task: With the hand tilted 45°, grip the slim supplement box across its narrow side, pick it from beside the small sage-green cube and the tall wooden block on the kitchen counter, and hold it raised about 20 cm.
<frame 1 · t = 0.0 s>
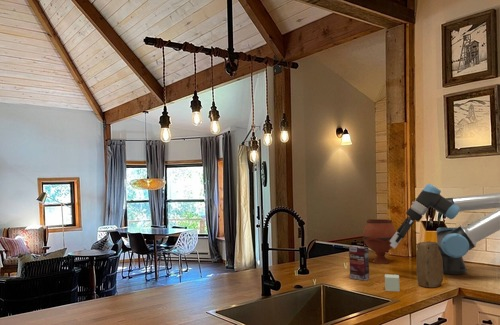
hand: (391, 245, 214), 15 cm above the worktop, tool tilted 35°, fingers open, 13 cm apart
supplement box: (359, 279, 207), on the worktop
sage cube: (392, 289, 186), on the worktop
goblet: (380, 262, 245), on the worktop
block: (430, 286, 190), on the worktop
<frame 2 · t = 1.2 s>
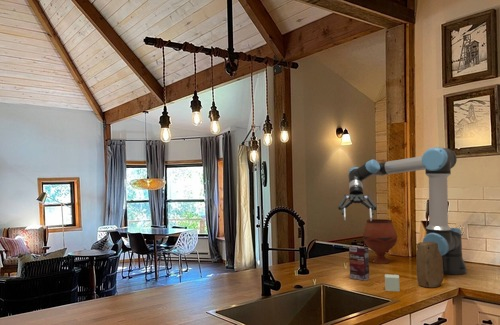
hand: (357, 219, 221), 28 cm above the worktop, tool tilted 45°, fingers open, 13 cm apart
nothing on the worktop moved.
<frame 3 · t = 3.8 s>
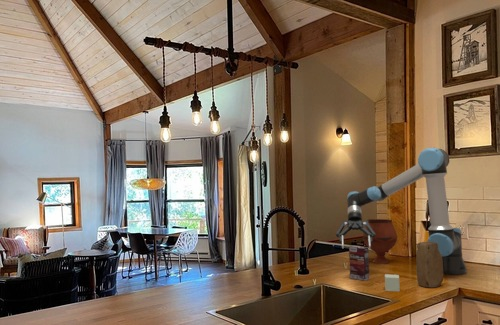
hand: (356, 247, 215), 14 cm above the worktop, tool tilted 45°, fingers open, 13 cm apart
nothing on the worktop moved.
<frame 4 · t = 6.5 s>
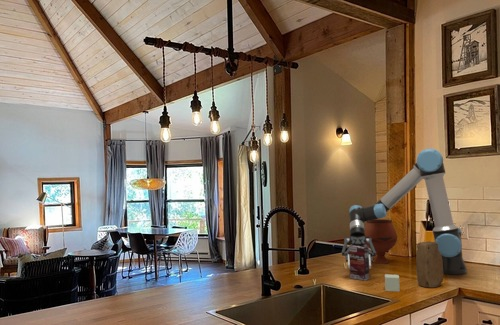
hand: (359, 266, 204), 6 cm above the worktop, tool tilted 45°, fingers closed on supplement box, 9 cm apart
supplement box: (359, 279, 207), on the worktop, touching gripper
everything else where it was.
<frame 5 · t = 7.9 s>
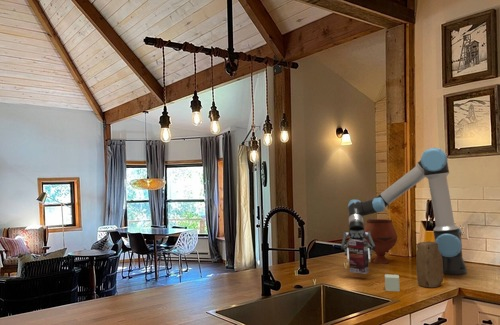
hand: (358, 260, 204), 10 cm above the worktop, tool tilted 45°, fingers closed on supplement box, 9 cm apart
supplement box: (359, 272, 207), point 3 cm above the worktop, touching gripper
everything else where it was.
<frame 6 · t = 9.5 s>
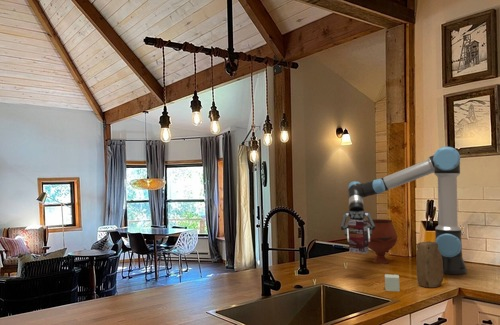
hand: (358, 240, 204), 20 cm above the worktop, tool tilted 45°, fingers closed on supplement box, 9 cm apart
supplement box: (359, 252, 207), point 13 cm above the worktop, touching gripper
everything else where it was.
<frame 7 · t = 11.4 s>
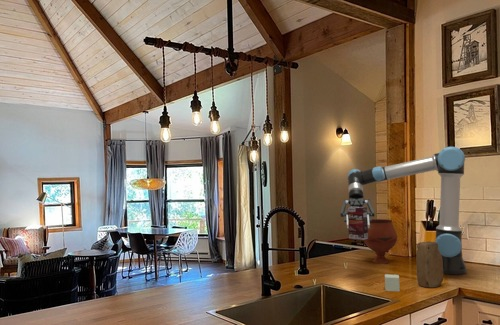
hand: (358, 226, 205), 26 cm above the worktop, tool tilted 45°, fingers closed on supplement box, 9 cm apart
supplement box: (358, 239, 207), point 20 cm above the worktop, touching gripper
everything else where it was.
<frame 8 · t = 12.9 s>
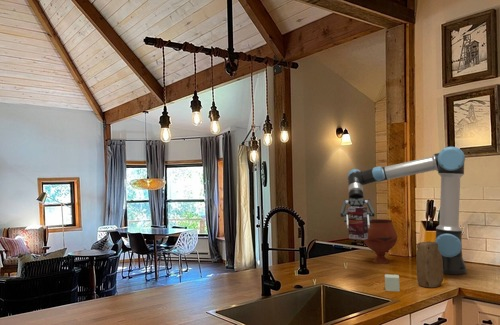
hand: (358, 226, 205), 26 cm above the worktop, tool tilted 45°, fingers closed on supplement box, 9 cm apart
supplement box: (358, 239, 207), point 20 cm above the worktop, touching gripper
everything else where it was.
at the end: the gripper is holding supplement box; supplement box point 19.7 cm above the worktop; sage cube moved 0.1 cm from its start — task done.
